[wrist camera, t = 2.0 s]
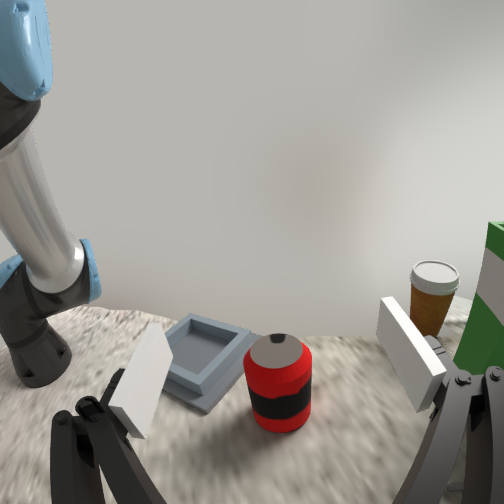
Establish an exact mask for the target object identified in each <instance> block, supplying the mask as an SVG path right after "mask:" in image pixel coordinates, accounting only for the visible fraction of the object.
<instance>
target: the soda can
mask: <svg viewBox="0 0 504 504" xmlns="http://www.w3.org/2000/svg"><path fill="white" fill-rule="evenodd" d="M243 367H244V371H245V376H246V381H247V385H248V390H249V394H250V399H251V403H252V408H253V412H254V416H255V419H256V421H257V423H258V424H259V425H260V426H261V427H263V428H264V429H266V430H268V431H272V432H278V433H282V432H289V431H293V430H295V429H297V428H299V427H300V426H302V425H303V424H304V423H305V422H306V421H307V419H308V417H309V415H310V408H311V379H312V355H311V352H310V350H309V348H308V347H307V346H306V345H304V344H303V343H302V342H300V341H299V340H298V339H297V338H295V337H293V336H291V335H287V334H271V335H267V336H264V337H262V338H260V339H258V340H257V341H256V342H255V343H254V344H253V345H252V347H251V348H250V349H249V350H248V351H247V352H246V354H245V356H244V359H243Z"/></svg>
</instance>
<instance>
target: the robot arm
mask: <svg viewBox="0 0 504 504" xmlns="http://www.w3.org/2000/svg"><path fill="white" fill-rule="evenodd" d="M52 68H53V67H52V57H51V41H50V31H49V23H48V17H47V11H46V6H45V2H44V0H0V229H1V230H2V232H3V234H4V235H5V236H6V238H7V239H8V241H9V242H10V243H11V245H12V246H13V248H14V249H15V250H16V252H17V253H18V254H17V255H15V256H13V257H11V258H9V259H7V260H6V261H4V262H2V263H1V264H0V334H1V335H2V337H3V339H4V341H5V342H6V344H7V346H8V348H9V351H10V354H11V358H12V361H13V364H14V368H15V371H16V373H17V375H18V377H19V378H20V380H21V381H22V382H23V384H25V385H26V386H29V387H41V386H44V385H47V384H49V383H51V382H53V381H54V380H56V379H57V378H58V377H59V376H61V375H62V374H63V372H64V371H65V370H66V369H67V367H68V366H69V364H70V361H71V357H72V353H71V350H70V348H69V346H68V345H67V343H66V341H65V340H64V339H63V338H62V337H61V336H60V335H59V334H58V333H57V332H56V331H55V330H54V329H53V328H52V327H51V326H50V325H49V323H48V321H47V319H46V318H47V317H50V316H52V315H55V314H58V313H61V312H64V311H66V310H69V309H72V308H75V307H78V306H80V305H83V304H89V303H90V302H91V301H93V300H96V299H98V298H99V297H100V296H101V292H102V291H101V284H100V280H99V276H98V272H97V267H96V263H95V259H94V255H93V251H92V247H91V244H90V242H89V240H88V239H80V240H79V239H78V238H77V237H76V236H75V235H74V234H72V233H70V232H68V231H66V229H65V227H64V225H63V222H62V220H61V218H60V215H59V213H58V210H57V208H56V205H55V202H54V200H53V198H52V194H51V192H50V189H49V186H48V183H47V180H46V177H45V174H44V171H43V168H42V164H41V161H40V158H39V154H38V151H37V147H36V143H35V140H34V135H33V131H32V127H31V126H32V124H33V123H34V121H35V120H36V118H37V116H38V114H39V112H40V109H41V101H40V100H41V98H42V97H43V96H44V95H46V94H47V93H48V92H49V91H50V89H51V85H52V76H53V75H52V74H53V69H52ZM376 336H377V337H378V339H379V341H380V343H381V345H382V346H383V348H384V350H385V352H386V354H387V356H388V358H389V359H390V361H391V363H392V365H393V367H394V369H395V371H396V373H397V375H398V377H399V379H400V381H401V382H402V384H403V386H404V388H405V390H406V392H407V394H408V397H409V399H410V401H411V403H412V405H413V407H414V409H415V411H416V413H417V412H420V411H423V410H426V409H428V408H429V407H430V405H431V404H432V402H434V404H435V406H436V407H435V409H434V410H433V412H432V414H431V416H430V417H429V418H430V419H431V420H430V423H429V425H428V428H427V431H426V434H425V436H424V439H423V441H422V444H421V446H420V449H419V451H418V453H417V456H416V458H415V460H414V462H413V465H412V467H411V469H410V471H409V473H408V475H407V477H406V479H405V481H404V483H403V485H402V487H401V489H400V491H399V492H398V494H397V496H396V498H395V499H394V501H393V503H392V504H439V502H440V500H441V497H442V495H443V493H444V490H445V488H446V486H447V483H448V480H449V478H450V475H451V472H452V470H453V467H454V464H455V461H456V458H457V454H458V451H459V448H460V444H461V441H462V437H463V433H464V429H465V425H466V421H467V452H466V468H465V479H464V487H463V495H462V501H461V504H504V371H503V370H502V369H501V368H500V367H498V366H491V367H489V368H487V370H486V372H485V374H482V375H471V374H470V373H469V372H468V371H465V370H459V369H458V367H457V366H456V365H455V363H454V362H453V360H452V359H451V358H450V356H449V355H448V354H447V352H445V350H444V348H443V347H442V346H441V344H440V343H439V342H438V340H437V339H435V338H434V337H432V336H431V335H429V336H425V337H423V336H422V335H421V333H420V332H419V331H418V329H417V328H416V327H415V325H414V324H413V323H412V321H411V320H410V319H409V317H408V316H407V315H406V313H405V312H404V311H403V310H402V308H401V307H400V306H399V305H398V303H397V302H396V301H395V300H394V298H393V297H392V296H391V297H386V298H381V303H380V311H379V318H378V326H377V332H376ZM172 359H173V354H172V352H171V349H170V347H169V344H168V341H167V339H166V336H165V333H164V330H163V328H162V325H161V323H149V325H148V327H147V329H146V331H145V332H144V334H143V336H142V338H141V340H140V342H139V344H138V346H137V348H136V350H135V351H134V353H133V355H132V357H131V359H130V361H129V363H128V365H127V367H126V369H119V370H118V371H117V372H116V373H115V374H114V375H113V376H112V378H111V380H110V383H109V384H108V386H107V388H106V390H105V392H104V394H103V396H102V398H101V400H100V402H98V400H97V399H96V398H95V397H93V396H86V397H83V398H81V399H80V400H79V401H78V402H77V404H76V406H75V410H76V412H77V413H78V414H79V415H80V416H72V415H71V413H70V412H69V411H67V410H62V411H59V412H57V413H56V414H55V415H54V417H53V419H52V428H51V446H50V482H51V498H52V504H106V503H105V499H104V493H103V488H102V482H101V476H100V469H99V465H100V467H101V470H102V472H103V474H104V477H105V479H106V481H107V483H108V485H109V488H110V490H111V492H112V494H113V496H114V498H115V500H116V502H117V504H167V503H166V502H165V500H164V499H163V497H162V496H161V495H160V493H159V492H158V490H157V489H156V487H155V485H154V484H153V482H152V481H151V479H150V478H149V476H148V474H147V473H146V471H145V469H144V468H143V466H142V464H141V462H140V461H139V459H138V457H137V455H136V453H135V452H134V450H133V448H132V446H131V444H130V442H129V440H128V439H127V438H126V435H127V433H128V432H129V433H130V435H131V436H132V437H133V438H140V439H146V437H147V434H148V431H149V428H150V425H151V421H152V418H153V415H154V412H155V409H156V406H157V403H158V400H159V397H160V394H161V391H162V388H163V385H164V382H165V379H166V376H167V373H168V370H169V367H170V365H171V362H172Z"/></svg>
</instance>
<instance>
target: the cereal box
mask: <svg viewBox="0 0 504 504" xmlns="http://www.w3.org/2000/svg"><path fill="white" fill-rule="evenodd" d="M453 362H454V363H455V365H456V366H457V367H458V369H459V370H465V371H468V372H469V373H470V374H471V375H482V374H485V372H486V370H487V368H489V367H491V366H498V367H500V368H501V369H502V370H503V371H504V222H489V223H488V231H487V239H486V245H485V251H484V257H483V262H482V267H481V272H480V276H479V281H478V285H477V289H476V293H475V297H474V300H473V304H472V308H471V311H470V314H469V317H468V321H467V324H466V327H465V330H464V333H463V335H462V338H461V341H460V344H459V346H458V349H457V351H456V354H455V356H454V359H453Z"/></svg>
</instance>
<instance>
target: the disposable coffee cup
mask: <svg viewBox="0 0 504 504" xmlns="http://www.w3.org/2000/svg"><path fill="white" fill-rule="evenodd" d="M410 279H411V306H410V320H411V321H412V323H413V324H414V325H415V327H416V328H417V329H418V331H419V332H420V333H421V335H422V336H423V337H425V336H429V335H431V336H432V337H436V336H437V335H438V333H439V331H440V329H441V326H442V324H443V322H444V319H445V317H446V314H447V312H448V310H449V307H450V304H451V302H452V299H453V296H454V294H455V291H456V290H457V288H458V287H459V285H460V279H459V272H458V271H457V269H456V268H455V267H453V266H452V265H450V264H448V263H445V262H442V261H437V260H423V261H420V262H417V263H416V264H415V265H414V267H413V269H412V271H411V272H410Z"/></svg>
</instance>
